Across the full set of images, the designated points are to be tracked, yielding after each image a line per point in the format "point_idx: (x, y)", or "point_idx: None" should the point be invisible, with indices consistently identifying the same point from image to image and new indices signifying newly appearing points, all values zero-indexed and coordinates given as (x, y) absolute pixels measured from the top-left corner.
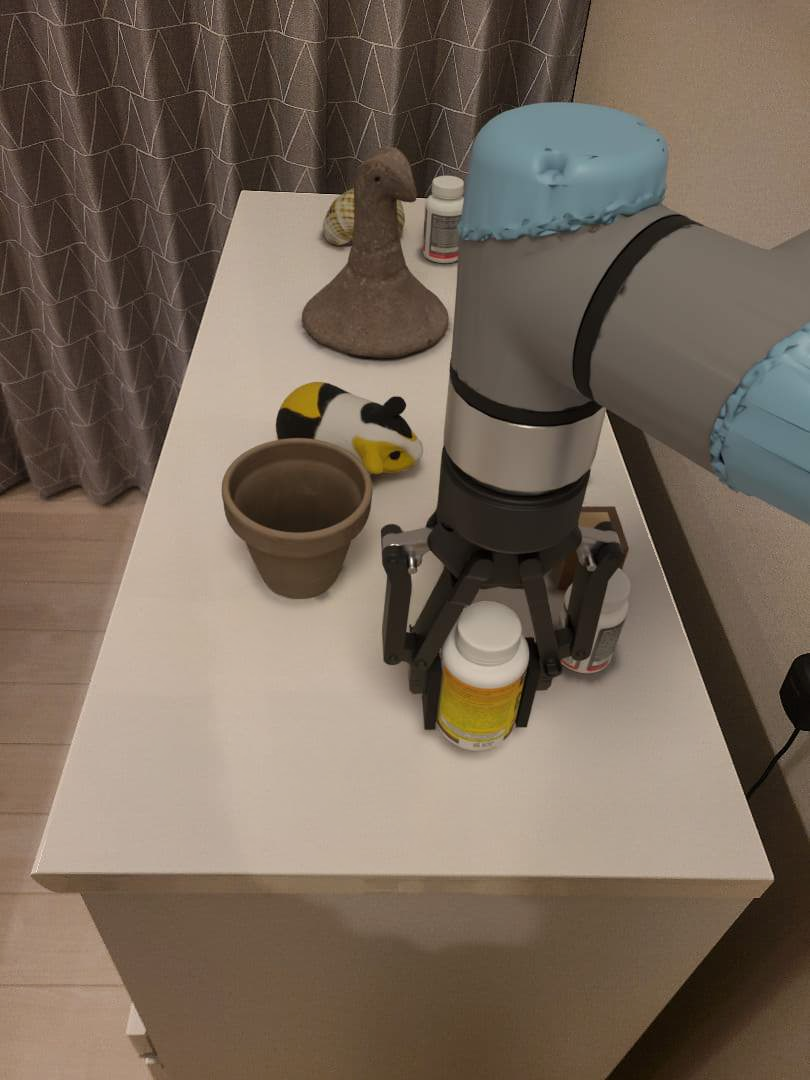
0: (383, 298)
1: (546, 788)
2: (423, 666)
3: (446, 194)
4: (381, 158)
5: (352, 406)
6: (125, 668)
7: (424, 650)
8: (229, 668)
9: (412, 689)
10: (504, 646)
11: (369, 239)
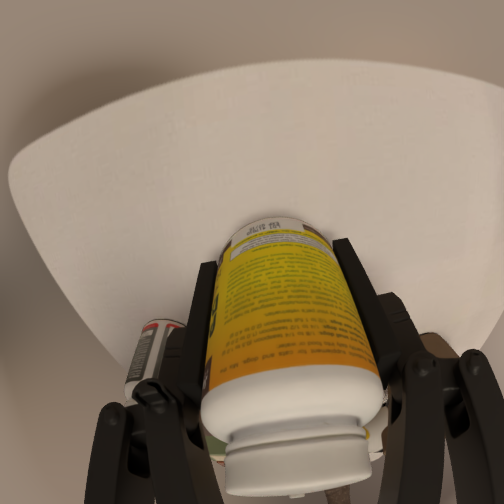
0: None
1: (171, 190)
2: (422, 366)
3: (297, 494)
4: None
5: (368, 451)
6: None
7: (435, 408)
8: (479, 268)
9: (396, 300)
10: (264, 490)
11: (342, 493)
